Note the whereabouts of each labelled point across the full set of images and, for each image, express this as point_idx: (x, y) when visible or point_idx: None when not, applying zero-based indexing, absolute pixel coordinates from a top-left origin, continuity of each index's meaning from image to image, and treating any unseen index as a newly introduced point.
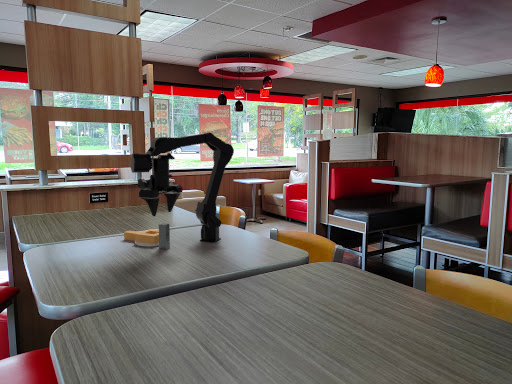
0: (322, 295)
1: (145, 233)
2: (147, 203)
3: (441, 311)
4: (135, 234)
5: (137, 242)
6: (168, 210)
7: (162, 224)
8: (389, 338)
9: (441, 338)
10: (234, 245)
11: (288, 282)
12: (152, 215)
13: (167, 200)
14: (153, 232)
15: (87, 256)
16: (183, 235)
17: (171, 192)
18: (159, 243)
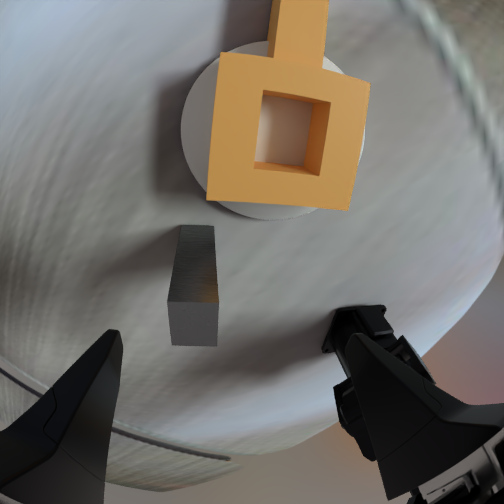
0: (130, 465)
1: (254, 105)
2: (16, 420)
3: (156, 486)
4: (276, 27)
5: (204, 81)
6: (356, 345)
7: (176, 324)
8: None
9: (117, 480)
10: (306, 388)
11: (141, 456)
12: (106, 332)
13: (418, 406)
14: (324, 124)
15: (8, 45)
16: (414, 212)
17: (438, 487)
18: (179, 238)
